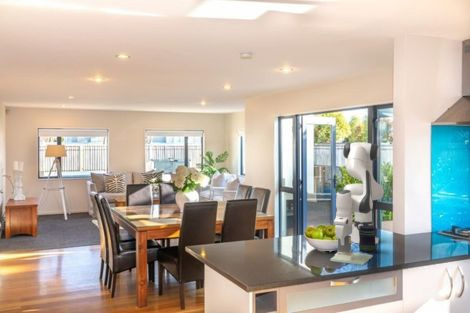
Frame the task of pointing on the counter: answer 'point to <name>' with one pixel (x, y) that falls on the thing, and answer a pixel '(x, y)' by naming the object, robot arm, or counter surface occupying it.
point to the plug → (347, 244)
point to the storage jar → (367, 239)
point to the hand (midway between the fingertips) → (344, 244)
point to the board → (351, 257)
